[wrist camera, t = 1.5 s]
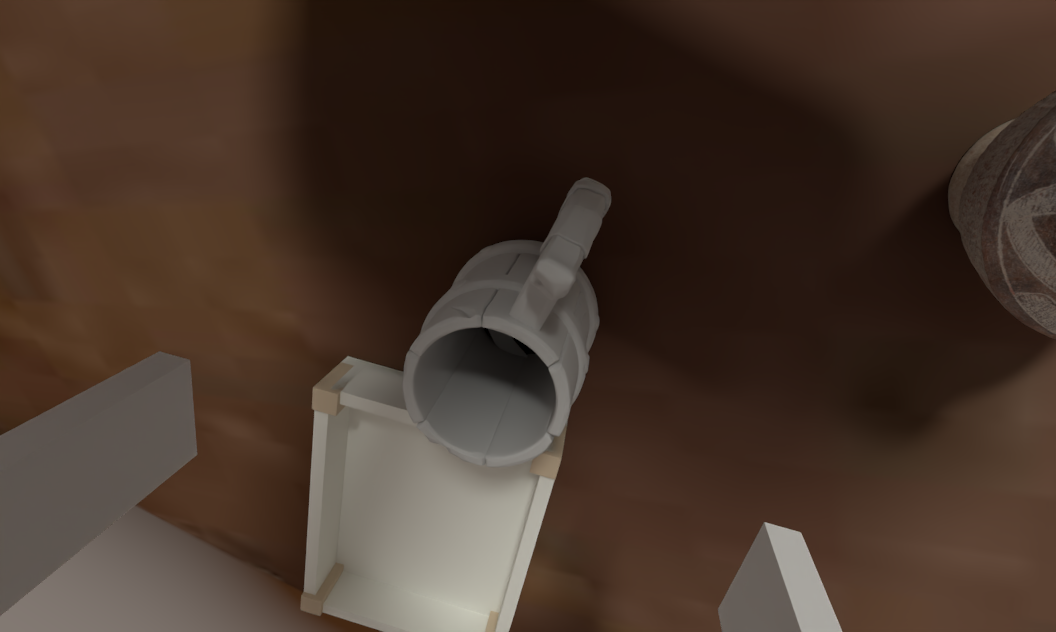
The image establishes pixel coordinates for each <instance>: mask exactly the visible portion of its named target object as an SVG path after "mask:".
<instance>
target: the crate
mask: <svg viewBox="0 0 1056 632" xmlns="http://www.w3.org/2000/svg"><path fill="white" fill-rule="evenodd" d="M403 373H404V372H403V371H399V370H395V369H392V368H388V367H385V366H381V365H378V364H374V363H371V362H367V361H363V360H360V359H356V358H353V357H349V356H347V357H346V358H345V359H344V360H343V361H342V362H341V363H340V364H338V365H337V366H336V367H335V368H334V369H333V370H332V371H331V372H330V373H328V374H327V375H326V376H325V377H324V378H323V379H322V380H321V381H320V382H318V383H317V384H316V385H315V386H314V387H313V396H312V409H313V410H315V411H314V428H313V445H312V462H311V479H310V496H309V513H308V530H307V547H306V564H305V580H304V592H303V594H302V595H301V610H302V611H305V612H308V613H311V614H314V615H318V616H321V614H322V612H323V613H327V614H330V615H333V616H336V617H339V618H342V619H345V620H348V621H351V622H355V623H358V624H361V625H364V626H367V627H370V628H373V629H377V630H380V631H383V632H509V629H510V626H511V623H512V620H513V616H514V613H515V610H516V606H517V603H518V600H519V596H520V593H521V590H522V586H523V583H524V580H525V576H526V573H527V570H528V567H529V563H530V560H531V557H532V553H533V550H534V547H535V543H536V540H537V537H538V533H539V530H540V527H541V523H542V520H543V517H544V513H545V510H546V507H547V504H548V500H549V497H550V494H551V490H552V487H553V484H554V480H555V479H556V475H557V472H558V469H559V465H560V462H561V459H562V453H563V447H564V441H565V435H566V429H567V423H568V420H567V423H566V425H565V427H564V429H563V431H562V433H561V435H560V436H559V437H557V436H555V437H554V439H553V442H552V443H551V445H550V446H549V448H548V449H547V450H546V451H545V452H543V453H542V454H541V455H539V456H538V457H536V458H534V459H532V460H530V461H527V462H525V463H522V464H518V465H514V466H509V467H499V468H495V467H487V466H486V463H485V465H483V466H480V465H476V464H473V463H469V462H465V461H463V460H461V459H460V458H459V457H457V456H455V455H453V454H451V453H449V452H448V450H447V448H446V447H444V446H442V445H440V444H436V443H432V442H430V441H429V440H428V438H427V437H426V436H425V434H424V433H422V432H421V431H420V430H419V429H418V428H417V427H416V425H417V424H418V423H413V421H412V420H411V418H410V416H409V413H408V411H407V408H406V405H405V400H404V396H403V389H402V383H403Z"/></svg>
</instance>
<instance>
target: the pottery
mask: <svg viewBox="0 0 1056 632" xmlns="http://www.w3.org/2000/svg"><path fill="white" fill-rule="evenodd" d="M948 205H949V213H950V216H951V219H952V221H953V223H954V225H955V226H956V228H957V229H958V230H959V232H960V233H961V239H962V242H963V246H964V248H965V250H966V252H967V255H968V257H969V259H970V261H971V263H972V265H973V266H974V268H975V269H976V271H977V272H978V274H979V276H980V278H981V279H982V280H983V282H984V283H985V285H986V287H987V288H988V289H989V290H990V292H991V293H992V294H993V296H994V297H996V299H997V300H998V301H999V302H1000V303H1001V304H1002V305H1003V307H1004V308H1005V309H1006V310H1008V311H1009V312H1010V313H1011V314H1012V315H1013V316H1014V317H1015V318H1016V319H1018V320H1019V321H1020V322H1022V323H1023V324H1024V325H1026V326H1028V327H1030V328H1032V329H1033V330H1035V331H1037V332H1039V333H1041V334H1044V335H1046V336H1048V337H1050V338H1053V339H1056V91H1054V92H1052V93H1051V94H1050V95H1049V96H1047V97H1046V98H1044V99H1043V100H1041V101H1039V102H1038V103H1036V104H1035V105H1034V106H1032V107H1031V108H1029V109H1028V110H1026V111H1024V112H1023V113H1022V114H1021V115H1020V116H1019V117H1018V118H1016V119H1013V120H1010V121H1008V122H1006V123H1004V124H1002V125H1000V126H998V127H996V128H994V129H993V130H991V131H990V132H988V133H987V134H985V135H984V136H983V137H981V138H980V139H979V140H978V141H977V142H976V143H975V144H974V145H973V146H972V147H971V148H970V149H969V150H968V151H967V153H966V154H965V155H964V156H963V157H962V159H961V160H960V162H959V163H958V165H957V167H956V169H955V171H954V173H953V176H952V178H951V180H950V184H949V189H948Z"/></svg>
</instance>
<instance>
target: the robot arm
mask: <svg viewBox="0 0 1056 632" xmlns="http://www.w3.org/2000/svg"><path fill="white" fill-rule="evenodd" d="M196 455H197V447H196V433H195V420H194V407H193V393H192V380H191V367H190V360H188V359H184V358H181V357H177V356H174V355H170V354H167V353H163V352H160V351H159V352H157V353H156V354H154V355H152V356H150V357H148V358H146V359H144V360H142V361H141V362H139V363H137V364H135V365H133V366H131V367H129V368H127V369H125V370H124V371H122V372H120V373H118V374H116V375H114V376H112V377H110V378H108V379H107V380H105V381H103V382H101V383H99V384H97V385H95V386H93V387H91V388H90V389H88V390H86V391H84V392H82V393H80V394H78V395H76V396H74V397H73V398H71V399H69V400H67V401H65V402H63V403H61V404H59V405H57V406H56V407H54V408H52V409H50V410H48V411H46V412H44V413H42V414H41V415H39V416H37V417H35V418H33V419H31V420H29V421H27V422H25V423H24V424H22V425H20V426H18V427H16V428H14V429H12V430H10V431H8V432H7V433H5V434H3V435H1V436H0V616H1V615H2V614H3V613H4V612H6V611H7V610H8V609H9V608H10V607H12V606H13V605H14V604H15V603H17V602H18V601H19V600H20V599H21V598H23V597H24V596H25V595H26V594H28V593H29V592H30V591H31V590H32V589H34V588H35V587H36V586H37V585H39V584H40V583H41V582H42V581H43V580H45V579H46V578H47V577H48V576H50V575H51V574H52V573H53V572H54V571H56V570H57V569H58V568H59V567H60V566H62V565H63V564H64V563H65V562H67V561H68V560H69V559H70V558H71V557H73V556H74V555H75V554H76V553H78V552H79V551H80V550H81V549H82V548H84V547H85V546H86V545H87V544H88V543H90V542H91V541H92V540H93V539H95V538H96V537H97V536H98V535H100V534H101V533H102V532H103V531H104V530H106V529H107V528H108V527H109V526H111V525H112V524H113V523H114V522H115V521H117V520H118V519H119V518H120V517H122V516H123V515H124V514H125V513H126V512H128V511H129V510H130V509H131V508H132V507H134V506H135V505H136V504H137V503H139V502H140V501H141V500H142V499H144V498H145V497H146V496H147V495H148V494H150V493H151V492H152V491H153V490H155V489H156V488H157V487H158V486H159V485H161V484H162V483H163V482H164V481H165V480H167V479H168V478H169V477H170V476H172V475H173V474H174V473H175V472H176V471H178V470H179V469H180V468H181V467H183V466H184V465H185V464H186V463H187V462H189V461H190V460H191V459H192V458H194V457H195V456H196ZM718 612H719V618H720V623H721V628H722V632H842V630H841V627H840V625H839V623H838V620H837V618H836V615H835V613H834V611H833V608H832V606H831V603H830V601H829V599H828V596H827V594H826V591H825V589H824V587H823V584H822V582H821V579H820V577H819V575H818V572H817V570H816V567H815V565H814V563H813V560H812V558H811V555H810V553H809V551H808V548H807V546H806V543H805V541H804V539H803V536H802V534H801V532H797V531H794V530H790V529H787V528H783V527H780V526H776V525H773V524H769V523H766V522H764V523H763V525H762V527H761V529H760V531H759V533H758V535H757V537H756V538H755V540H754V542H753V544H752V546H751V548H750V550H749V552H748V554H747V555H746V557H745V559H744V561H743V563H742V565H741V567H740V569H739V571H738V572H737V574H736V576H735V578H734V580H733V582H732V584H731V586H730V588H729V589H728V591H727V593H726V595H725V597H724V599H723V601H722V603H721V604H720V606H719V608H718Z"/></svg>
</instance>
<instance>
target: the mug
mask: <svg viewBox="0 0 1056 632" xmlns="http://www.w3.org/2000/svg"><path fill="white" fill-rule="evenodd" d="M610 205H611V192H610V190H609V189H608V188H607V187H606V186H604V185H603V184H601V183H599V182H597V181H595V180H593V179H590V178H587V177H586V178H583V179H581V180H578V181H576V182H575V183H574V185H573V186H572V188H571V189H570V191H569V192H568V194H567V197H566V199H565V201H564V203H563V205H562V206H561V209H560V211H559V214H558V217H557V219H556V221H555V223H554V225H553V227H552V229H551V231H550V233H549V234H548V236H547V238H546V239H545V241H544V243H543V242H539V241H533V240H509V241H504V242H500V243H497V244H494V245H492V246H487V247H485V248H484V249H482V250H481V251H480V252H479V253H477V254H476V255H475V256H474V257H472V258H471V259H470V260H469V261H468V262H467V263H466V264H465V265H464V267H463V268H462V269H461V271H460V272H459V274H458V275H457V277H456V279H455V281H454V282H453V285H452V287H451V288H450V289H449V290H448V291H447V292H446V294H445V295H443V296H442V297H441V298H440V300H439V301H438V302H437V303H436V304H435V305H434V306H433V308H432V309H431V310H430V312H429V313H428V315H427V317H426V319H425V321H424V323H423V326H422V329H421V333H420V334H419V336H418V337H417V338H416V340H415V341H414V342H413V344H412V345H411V347H410V350H409V351H408V353H407V355H406V360H405V363H404V373H403V383H402V389H403V396H404V400H405V405H406V408H407V411H408V413H409V416H410V418H411V420H412V421H413V423H418V424H417V425H416V427H417V428H418V429H419V430H420V431H421V432H422V433H424V434H425V436H426V437H427V438H428V440H429V441H430V442H432V443H436V444H440V445H442V446H444V447H446V448H447V450H448V452H449V453H451V454H453V455H455V456H457V457H459V458H460V459H461V460H463V461H465V462H469V463H473V464H476V465H480V466H483V465H485V463H486V466H487V467H495V468H499V467H509V466H514V465H518V464H522V463H525V462H527V461H530V460H532V459H534V458H536V457H538V456H539V455H541V454H542V453H543V452H545V451H546V450H547V449H548V448H549V446H550V445H551V443H552V442H553V439H554V437H555V436H557V437H559V436H560V435H561V433H562V431H563V429H564V427H565V425H566V423H567V420H568V417H569V413H570V409H571V405H572V404H573V403H574V401H575V400H576V398H577V397H578V395H579V393H580V390H581V388H582V385H583V382H584V379H585V374H586V373H587V372H588V366H589V355H588V352H589V350H590V348H591V346H592V344H593V341H594V338H595V335H596V331H597V329H598V327H599V316H598V304H597V299H596V295H595V292H594V289H593V287H592V285H591V283H590V281H589V279H588V278H587V276H586V274H585V273H584V272H583V270H582V269H581V268H580V265H581V263H582V261H583V260H584V258H585V259H586V258H587V256H588V253H589V251H590V248H591V245H592V243H593V240H594V239H595V237H596V236H597V234H598V231H599V229H600V227H601V224H602V218H603V217H604V216H605V214H606V213H607V211H608V209H609V207H610ZM484 328H488V330H489V332H490V334H491V336H492V339H493V340H492V339H491V338H490V337H489V336H488V335H487V333H486V332H485V330H484ZM511 336H512V337H514V338H515V339H517V340H519V341H521V342H522V343H524V344H525V345H527V346H528V347H529V348H531V349H532V350H533V351H534V352H535V353H536V354H528V355H526V353H525V352H524V351H523V350H522V349H521V348H520V347H519V345H518V344H517V343H516V342H515V341H514V340H513V339H512V337H511Z"/></svg>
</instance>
